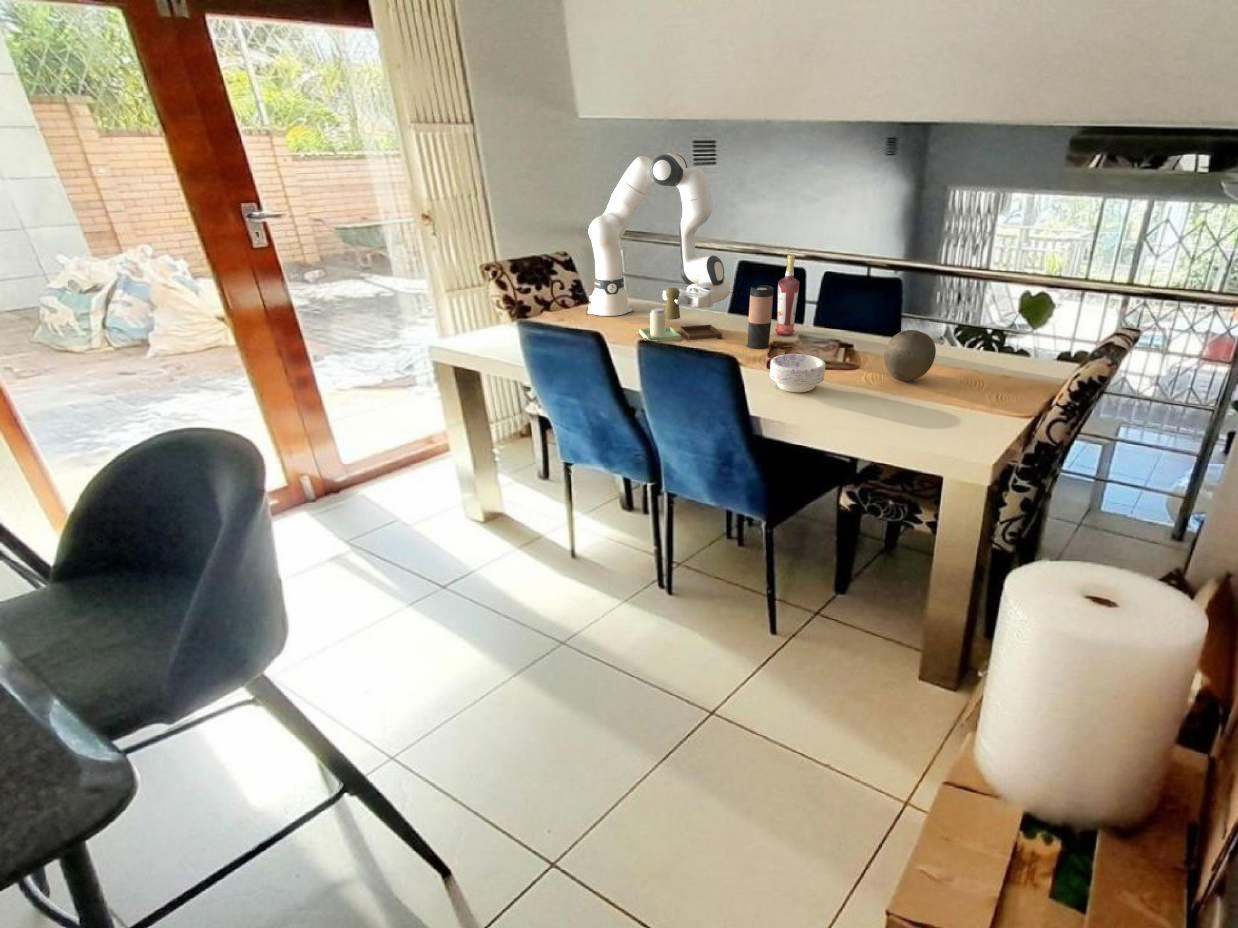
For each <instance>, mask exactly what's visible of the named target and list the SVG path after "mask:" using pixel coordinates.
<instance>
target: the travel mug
mask: <svg viewBox="0 0 1238 928" xmlns="http://www.w3.org/2000/svg"><path fill="white" fill-rule="evenodd" d="M749 292H750V293H749V307H748V324H747V347H749V348H751V349H754V350H755V349H756V350H761V349H762V350H763V349H767V348H769V345H770V339H771V338H770V337H771V327H772V318H773V317H772V316H773V302H774V301H773V300H774V299H773V298H774V287H773V286H770V285H758V286H757V287H754V286H750V291H749Z"/></svg>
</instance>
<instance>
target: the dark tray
mask: <svg viewBox="0 0 1238 928" xmlns="http://www.w3.org/2000/svg"><path fill="white" fill-rule="evenodd" d="M678 331H679V333H681V334H682V335H683V336H684V337H685V338H686V339H688V341H693V340H707V339H717V340H722V339H723V333H722V332H721V331H720V330H718V329H717V328H716V327H714V326H713V325H712V324H701V325H699V324H698V325H686V326H679V327H678Z"/></svg>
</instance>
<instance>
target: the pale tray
mask: <svg viewBox="0 0 1238 928" xmlns="http://www.w3.org/2000/svg"><path fill="white" fill-rule="evenodd" d="M638 330H639V331H638V332H639V334H640V336H641V337H642V338H643V339H644V338H647V339H650V340H657V341H658V342H669V341H682V335H681V334H680V332H678V331H677V330H676V329H674V328H673V327H672V326H665V336H662V337H650V327H648V328H647V327H646V328H639V329H638Z"/></svg>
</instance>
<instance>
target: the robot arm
mask: <svg viewBox="0 0 1238 928" xmlns="http://www.w3.org/2000/svg"><path fill="white" fill-rule="evenodd" d="M654 183H656V184H657V185H659V186H663V187H673V188H674V187H676V188H677V190H678V191H679V194H680V201H681V207H682V213H681V215H682V216H681V218H680V220H679V225H678V229H679V230H678V232H679V250H680V266H679V274H680V278H681V279H682V281H683V282H684V283H685V284H686V285H688V286H687V288H686V289H683V288H679V287H678V288H677V287H676V288H677V289H679V291H680V295H679V297H678V299H675V304H679V305H685V306H690V307H692V308H712V307H713V306H714V304H716V303H720V302H721V301H724V300H726V299H727V297H728V296H729V295H730V293H731V284H730V282H729V281H728V279H726V277H725V268H724V263H723V261H722V260H721V258H719V256H717V255H707V256H701V257H697V254H696V240H695V237H696V236H695V235H696V232H697V230H698V229H699V228H700V227H702V225H704V224H705V223H706V222H707V221H708V220H709V218H710V217H711V215H712V212H713V202H712V201H713V200H712V196H711V190H710V186H709V183H708V179H707V177H706V174H705V172H704V170H703V169H701V167H700V168H699V167H689V168H688V163H687V161H686V160H685V158H684V157H683V156H681V155H680V154H677V153H672V152H671V153H669V152H668V153H663V154H659V155H658V156H656V157H655V158H654V159H653V160H652V159H651V158H649V156H645V155H640V156H637V157H636V158H635V159H634V160H633V161H632V162H631V163H630V165H629V166H628V168H627V169H626V170H625V172H624V173H623V174H622V175H621V178H620V180H619V181H618V183H617V185H616V187H615V188H614V190H613V192H612V193H611V196H610V199H609V202H608V204H607V206H606V209H605V210H604V212H603V213H602V215H599V216H596V217H595V218H594V219H593V220H592V221H591V222H590V224H589V227H588V237H589V238H590V240H591V246H592V251H593V256H594V267H595V268H594V269H595V271H594V272H595V278H594V282H593V283H594V290H593V292H592V294H590V295H588V301H589V302H590V303H589V304H588V308H587V314H588V315H594V316H602V317H614V316H622V315H625V314H627V313H630V312H633V308H632V307H629V296H628V295H629V294H628V293H629V292H628V291H627V290H626V288H624V287H625V280H624V279H625V278H624V277H623V256H622V253H621V249H620V243H619V240H620V239H621V238H622V237H623V236H624V234H625V232H626V231H627V230H628V227H629V225H630V223H631V222H632V219H633V217H634V214H635V212H636V211H637V210H638V207H639V206H640V204H641V203H642V201H643V199H644V198H645V197H646V195H647V193H648V191H649V190H650V188H651V187H652V185H653V184H654ZM667 289H668V288H666V289H663V290H662V300H664V302H665V303H666V302H667V296H666V290H667Z"/></svg>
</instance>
